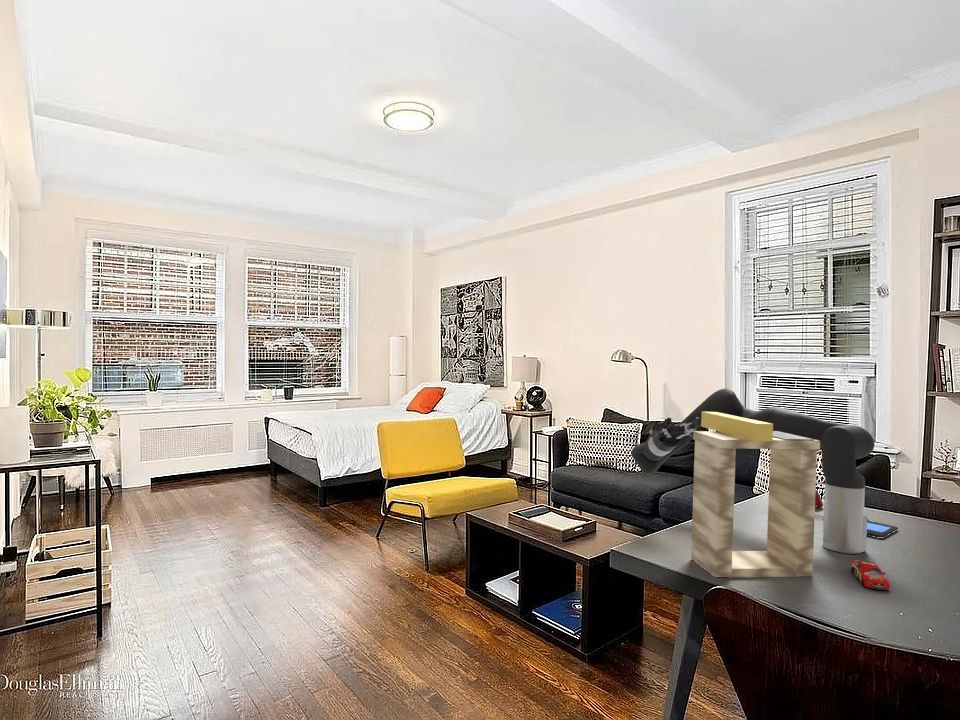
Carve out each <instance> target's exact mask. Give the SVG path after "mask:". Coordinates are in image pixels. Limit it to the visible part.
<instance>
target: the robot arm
mask: <svg viewBox="0 0 960 720" xmlns="http://www.w3.org/2000/svg"><path fill="white" fill-rule="evenodd" d="M702 412H719V413H724V414H728V415H733V416H738V417H743V418H748V419H752V420H757V421H762V422H767V423H771V424H773V431H779V432H784V433H788V434H793V435H797V436H801V437H806V438H810V439H815V440H819V441H820V447H821V451H822V453H821V468H822V469H821V470H822V473H823V475H824V497H823V498H824V502H823V503H824V504H823V524H822V525H823V527H822V532H823V533H822V546H823V547H824V548H825V549H827V550H830V551H833V552H836V553H837V552H838V553H843V554H855V555H857V554H861V553H863V552H864V551H866V552H867V538H868V536H867V518H868V515H865V495H866V494H865V492H866V479H865V477H864V476H863V475H862V474H860V473H859V472H858V471H857V463H856V462H857V461H856V460H861V459H863V458H864V459H865V457H868V456H869V455H870V454H872V452H873V451H874V449H875V440H874V437H873V436H872V435H871V433H870V432H869V431H868V430H866V429H865V428H863V427H862V426H860V425H853V424H845V423H839V422H833V421H827V420H823V419H820V418H817V417H814V416H811V415H808V414H805V413H802V412H798V411H795V410H792V409H788V408H787V409H786V408H783V407H779V406H770V407H766V408H764V409H761V410H754V409H750V408H747V407H745V406H744V405H743V404H742V403H741V400H740V399H739V398H738V396H737V394H736V393H735V391H733V390H732V389H730V388H721V389H718V390H717V391H715V392H713V393H711V395H709V396H708V397H706V399H704V400H703V401H702V402H701V403H700V404H699V405H697V407H695V409H694V410H692V412H690V413H689V414H688V415H687V416H686V417H684V419H683V420H682V421H680V422H679V423H678V424H676V425H673V422H672V417H669V416H668V417H666V418H665V419H664V420H663V421H660V423H659V422H653V424H652V425H651V426H650V428H649V434H650V437H649V439H648V440H647V441H646V442H642V443H639V444H636V445H635V446H634V447H632V449H631V453H630V455H631V457H632V459H633V460H634V461H635V463H636V464H637V466H638V467H639V469H640V470H641V471H642V473H643V474H644V475H652V474H654V473H656V472H657V471H658V470H659V469H660V468H661V466H662V465H663V464H664V463H665V462H666V460H667V459H669V458H670V456H672V455H673V454H674V453H676V452H678V451H679V450H682V448H684V447H685V446H686V445H688V444H689V443H690V442H691V441H692V440H693V431H702V427H701V417H702Z"/></svg>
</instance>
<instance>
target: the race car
mask: <svg viewBox="0 0 960 720" xmlns="http://www.w3.org/2000/svg"><path fill="white" fill-rule="evenodd" d="M850 572H851V574H852V575H853V576H854V577H855V578H856V580H857V581H858V582H859V583H860V584H861V585H863V586H862V587H863V588H869V589H872V590H877V591H879V590H880V591H890V588H891V584H890V581H889V580H888V578H887V577H886V576H885V575H886V574H887V573H886V572H884V571H882V569H881V568H880V566H878V564H876V563H874V562H873V561H869V560H868V561H867V560H852V562H851V565H850Z"/></svg>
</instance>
